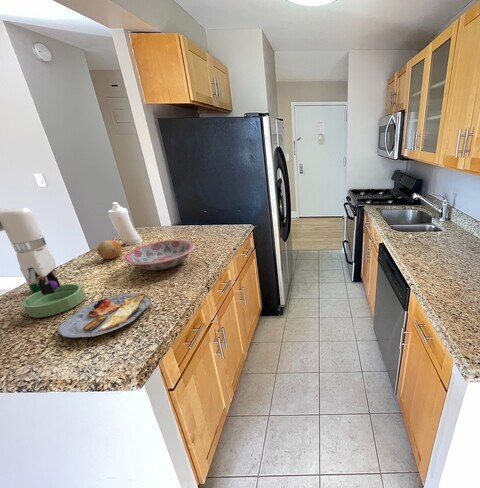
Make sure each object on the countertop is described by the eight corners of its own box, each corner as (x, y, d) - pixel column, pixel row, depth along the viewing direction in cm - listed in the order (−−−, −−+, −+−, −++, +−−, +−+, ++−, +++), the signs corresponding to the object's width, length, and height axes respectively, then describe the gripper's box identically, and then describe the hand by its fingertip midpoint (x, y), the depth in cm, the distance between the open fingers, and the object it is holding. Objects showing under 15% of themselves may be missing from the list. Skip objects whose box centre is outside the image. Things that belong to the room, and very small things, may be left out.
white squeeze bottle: (132, 246, 151) (119, 204, 142) (114, 246, 151) (100, 204, 142) (145, 239, 162) (134, 200, 153) (129, 239, 162) (116, 200, 153)
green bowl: (18, 323, 88) (11, 311, 86) (41, 299, 101) (36, 288, 99) (76, 311, 94) (71, 300, 92) (91, 290, 107) (87, 280, 105)
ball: (42, 294, 93) (37, 285, 91) (47, 289, 96) (43, 280, 95) (56, 292, 94) (52, 282, 93) (61, 286, 98) (57, 277, 96)
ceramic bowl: (176, 249, 147) (173, 236, 144) (209, 260, 133) (206, 246, 130) (117, 270, 124) (112, 254, 121) (149, 286, 110) (144, 269, 107)
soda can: (28, 292, 107) (15, 265, 102) (43, 285, 111) (31, 260, 107) (37, 293, 105) (24, 267, 101) (52, 287, 110) (40, 261, 105)
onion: (109, 263, 131) (103, 245, 127) (96, 260, 134) (89, 242, 130) (128, 255, 139) (123, 238, 136) (115, 253, 142) (109, 236, 139)
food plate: (101, 298, 102) (98, 291, 100) (162, 296, 103) (160, 288, 102) (41, 345, 79) (36, 336, 77) (121, 341, 80) (118, 332, 79)
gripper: (28, 238, 94) (49, 282, 101) (-2, 255, 80) (25, 305, 87) (55, 235, 97) (74, 278, 104) (31, 251, 83) (54, 299, 90)
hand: (51, 290), depth 95 cm, fingers closed on ball, 3 cm apart
